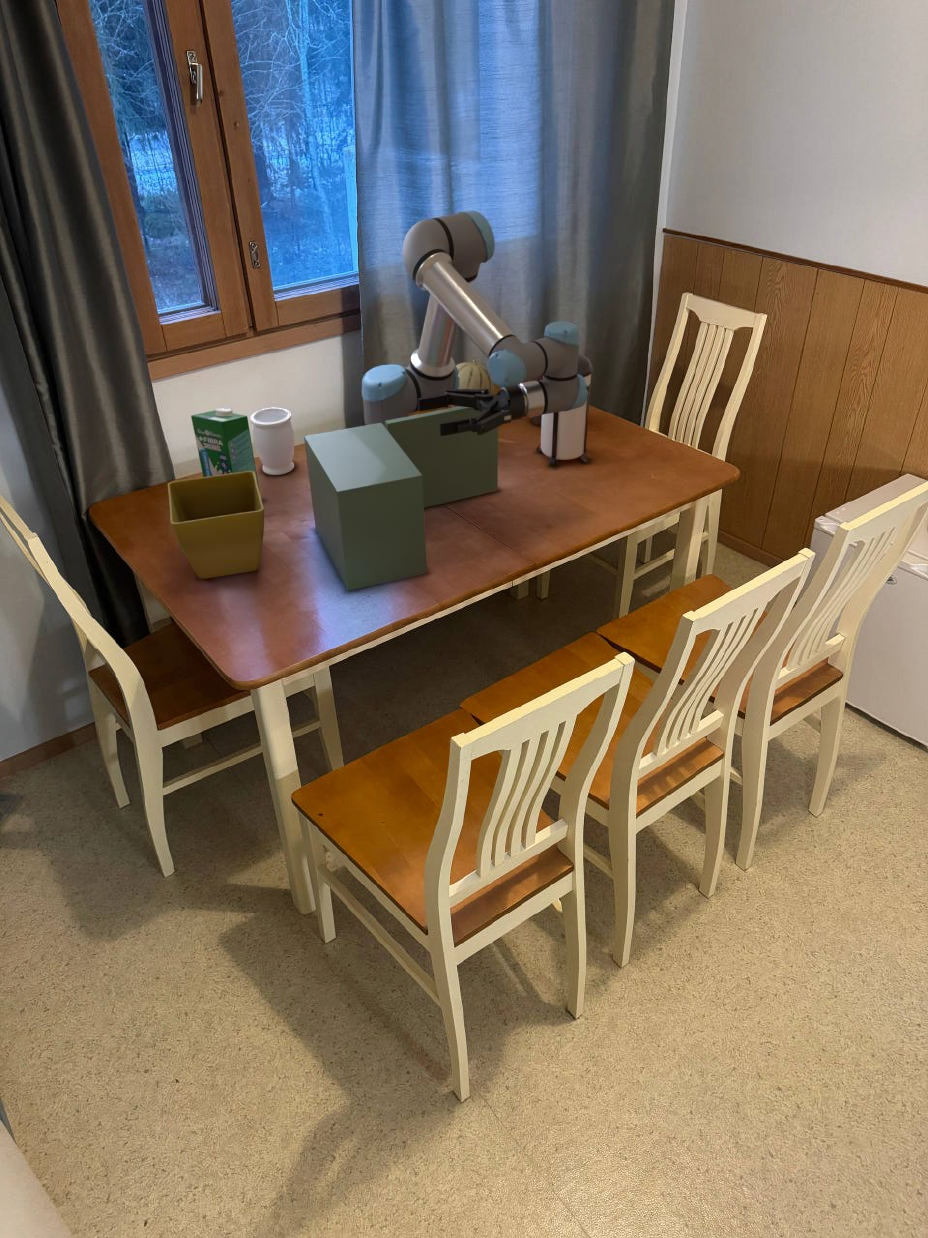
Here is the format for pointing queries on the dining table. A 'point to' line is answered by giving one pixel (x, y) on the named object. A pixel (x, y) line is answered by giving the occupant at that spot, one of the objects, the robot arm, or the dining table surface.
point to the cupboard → (367, 505)
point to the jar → (274, 439)
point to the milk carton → (223, 442)
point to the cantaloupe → (474, 377)
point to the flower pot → (218, 522)
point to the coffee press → (567, 426)
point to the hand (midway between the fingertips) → (429, 416)
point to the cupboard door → (448, 455)
